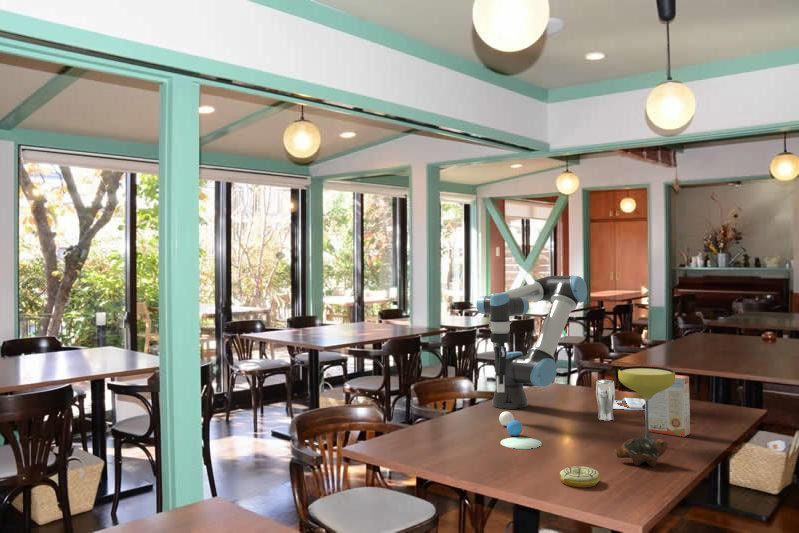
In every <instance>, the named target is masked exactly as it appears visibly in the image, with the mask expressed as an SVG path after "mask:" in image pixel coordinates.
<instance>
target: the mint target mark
mask: <svg viewBox="0 0 799 533" xmlns="http://www.w3.org/2000/svg"><path fill="white" fill-rule="evenodd" d="M500 445H501V446H503V447H505V448H509V449H513V448H515V450H532V449H531V448H533V449H537V447H538V448H540V447H541V446H542V445H543V444H542V441H540V440H539V439H534V438H532V437H531V438H530V437H524V436H523V437H521V436H517V437H516V436H513V437H507V438H504V439H502V440H501V441H500ZM539 446H540V447H539Z"/></svg>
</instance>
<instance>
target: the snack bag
mask: <svg viewBox="0 0 799 533" xmlns="http://www.w3.org/2000/svg"><path fill="white" fill-rule="evenodd" d="M616 401H617V402H616ZM622 401H626V403H627V404H626V406H627V407H628V406H629V407H630V408H627V407H624V406H625V405H623V406H620V405H618V404H617V403H622ZM644 404H645V400H644V399H643V398H637V397H636V398H635V397H634V398H633V397H623V398H622V400H615V399H614V404H613V409H624V410H623V411H639V410H645V409H643V407H642V406H643V405H644Z"/></svg>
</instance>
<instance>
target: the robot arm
mask: <svg viewBox="0 0 799 533" xmlns="http://www.w3.org/2000/svg"><path fill="white" fill-rule="evenodd" d="M587 297H588V288H587V283H586V281H585V280H584V278H583V277H582V276H578V275H573V274H571V275H549V276H544V277H540V278H538V279H537V278H536V279H535V280H532V281H528V283H527V284H526V285H522V286H519V287H516V288H513V289H510V290H507V291H504V292H493V293H491V294H490V295H488V296H487V295H485V296H483V295H482V296H480V297H478V299H477V300H476V309H477V311H478V313H480V314H484V315H490V323H488V326H489V327H490V331H491V333H490V342H491V343H493V344H495V346H494V347H493V352H494V362H495V363H494V367H495V390H494V395H493V398H492V400H491V403H492V406H493V407H494V408H497V407H498V408H497V409H503V408H505V410H506V409H507V410H518V409H517V408H520V409H524V408H523V407H525V408H527V407H528V406H529V405H528V403H529V402H528V399H527V396H526V391H525V389H524V385H529V386H530V385H531V386H535V387H546V386H549V385H551V384H552V383H553V382H554V380H555V379H556V376H557V373H558V371H557V368H558V367H557V363H556V358H555V356H554V355H555V352H556V350H557V348H558V345H559V342H560V339H561V338H562V334H563V333H564V330H565V327H566V325H567V322H568V319H569V317H570V315H571V312H572V311H574V310H576V308H577V306H578V304H579V303H580V304H582V303H584V302H585V301H586V299H587ZM544 301H545V302H551V303H552V304H551V305H550V309H549V311H548V313H547V315H546V318H545V320H544V322H543V325H542V327H541V330H540V333H539V335H538V337H537V339H536V342H535V344H534V347H532V348H530V349H528V352H527V354H526V355H524V353H523V352H522V351H509V352H508V351H507V347H506V346H505V344H506V343H507V344H508V343H510V342H511V341H510V336H511V334H510V330H511V328H510V327H511V326H510V325H511V322H510V317H517V316H519V317H521V316H523V315H526V314H527V313H528V312H529V310H530V302H533V303H537V302H544ZM526 406H527V407H526Z"/></svg>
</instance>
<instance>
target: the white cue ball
mask: <svg viewBox="0 0 799 533" xmlns="http://www.w3.org/2000/svg"><path fill="white" fill-rule="evenodd" d="M498 417H499V419H498V420H499V422H500V424H501V425H502V426H504V427H507V424H508V423H509V422H510V421H512V420H515V417H514V414H513V413H511V411H507V410H506V411H503V412H501V413H500V415H499V416H498Z"/></svg>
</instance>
